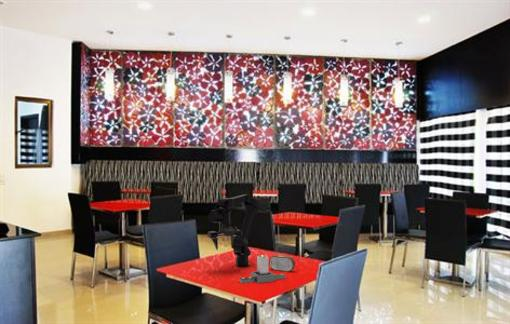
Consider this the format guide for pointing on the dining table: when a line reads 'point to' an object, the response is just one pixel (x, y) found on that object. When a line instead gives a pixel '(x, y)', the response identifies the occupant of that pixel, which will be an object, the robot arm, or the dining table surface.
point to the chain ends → (262, 277)
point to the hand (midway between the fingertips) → (224, 249)
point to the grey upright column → (262, 265)
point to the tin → (282, 263)
